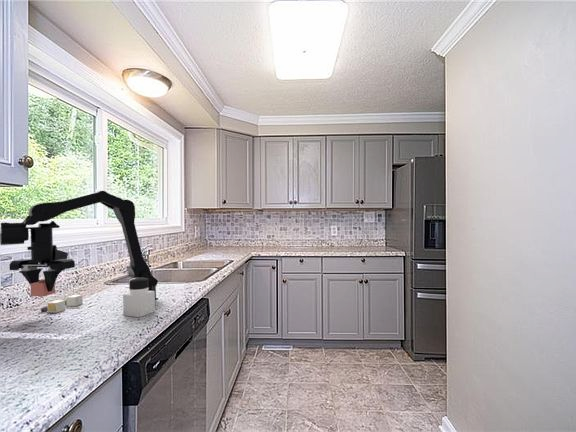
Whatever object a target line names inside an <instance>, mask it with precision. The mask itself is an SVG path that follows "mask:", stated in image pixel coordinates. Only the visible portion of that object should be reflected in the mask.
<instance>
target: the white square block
mask: <svg viewBox="0 0 576 432" xmlns="http://www.w3.org/2000/svg"><path fill="white" fill-rule="evenodd" d="M65 298H66V299H65V300H66V305H65V307H79V306H81V305H83V300H84V299H83V294H73V295H72V294H71V295H69V296H66V297H65Z"/></svg>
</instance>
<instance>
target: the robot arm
mask: <svg viewBox="0 0 576 432" xmlns="http://www.w3.org/2000/svg"><path fill="white" fill-rule="evenodd" d="M99 203H100V204H102V205H103V206H105V207H106V208H109V209H111V210H112V211H113V213H114V215H115V217H116V219H117V221H118V222H119V223H120V225H121V229H122V232H123V236H124V241H125V244H126V248H127V251H128V257H129V260H130V262H129V265H128V266H127V265H126V266H125V268H126V270H127V273H128V274H127V277H129V278H130V280H131V279H133V278H140V277H144V278H148V280H149V289H148V291H154V292H155V302H156V301H158V300H159V297H157V293H156V292H157V285H158V282H159V280H158V279H157V278H155V276H153V275H152V271H151V269H150V267H149V265H148V263H147V262H146V260H145V259H144V256H143V252H142V249H141V248H142V247H141V244H140V240H139V237H138V232H137V228H136V224H135V220H136V205H135V203H134V201H132V200H130V199H123V198H121V197H118V196H117V195H114V194H111V193H109V192H107V191H105V190H99V191H96V192H93V193H90V194H86V195H83V196H79V197H74V198H70V199H67V200H62V201H53V202H43V203H37V204H34V205H32V206H31V207H30V209H29V210H28V216H26V218H25V219H23V221H22V222H0V246H9V245H11V246H12V245H22V244H23V245H24V244H25V242H26V241H29V240H30V246H27V249H26V250H27V251H30V258H29V259H27V258H24V259H17V260H12V261H11V262H10V263H9V271H18V274H19V273H20V274H21V275H22V276H23V277H24V278H25V280H26V281H27V283H28V284H29V285H30V284H31V283H36V282H39V280H40V274H41V272H42V273H43V279H45V282H46V287H47V290H48V292H50V291H52V289H53V286H54V284H55V285H56V281H57V280H58V279H57V278H58V276H59V274H60V273H61V272H63V271H65V270H67V269H73V268H75V265H76V263H75V260H74V259H73V258H68V256H69V252H66V251H62V250H58V247H57V245H56V244H54V242H53V241H54V239H53V229H59V228H60V227H61V226H60V225H59V224H57V223H56V222H55V221H54V220H52V219H54V218H56V217H58V216H60V215H62V214H65V213H66V212H70V211H74V210H77V209H81V208H84V207H88V206H92V205H95V204H99ZM50 220H51V221H50ZM47 221H50V222H49V223H48V222H47ZM39 222H40V223H39ZM41 222H43V223H41ZM44 222H45V223H44ZM36 224H38V226H35V225H36ZM27 226H28V227H27ZM29 226H31V227H29ZM29 230H30V239H29ZM43 268H48V270H43ZM19 269H21V270H19ZM42 270H43V271H42Z"/></svg>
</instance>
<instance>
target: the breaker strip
mask: <svg viewBox="0 0 576 432" xmlns="http://www.w3.org/2000/svg"><path fill="white" fill-rule="evenodd" d="M65 309H80V306H66V299H65ZM46 312H48V308H47V305H46V306H44V307H41V308H40V313H46Z"/></svg>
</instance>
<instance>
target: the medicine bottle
mask: <svg viewBox="0 0 576 432" xmlns="http://www.w3.org/2000/svg"><path fill="white" fill-rule="evenodd" d="M148 289H149V280H148V278H144V277H140V278H133V279H131V278H130V279H129V281H128V291H129V292H126V293H123V295H122V299H123V300H122V305H123V310H122V311H123V312H122V313H123V316H124V317H125V316H126V317H134V318H135V317H136V318H142V317H145V316H147V315H150V314H152V313H155V311H156V301H155V292H154V291H148Z"/></svg>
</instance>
